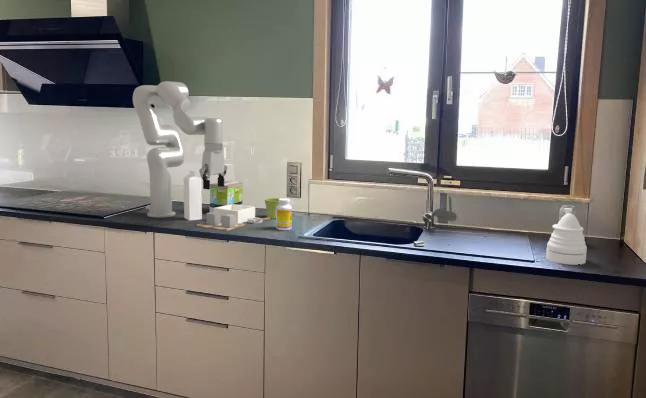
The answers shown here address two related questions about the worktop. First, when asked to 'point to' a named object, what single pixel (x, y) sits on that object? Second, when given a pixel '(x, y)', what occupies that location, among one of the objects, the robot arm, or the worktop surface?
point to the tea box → (225, 194)
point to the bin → (237, 212)
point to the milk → (192, 197)
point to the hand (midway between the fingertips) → (213, 187)
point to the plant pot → (271, 207)
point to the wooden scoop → (257, 220)
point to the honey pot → (567, 241)
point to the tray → (220, 226)
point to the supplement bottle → (284, 215)
